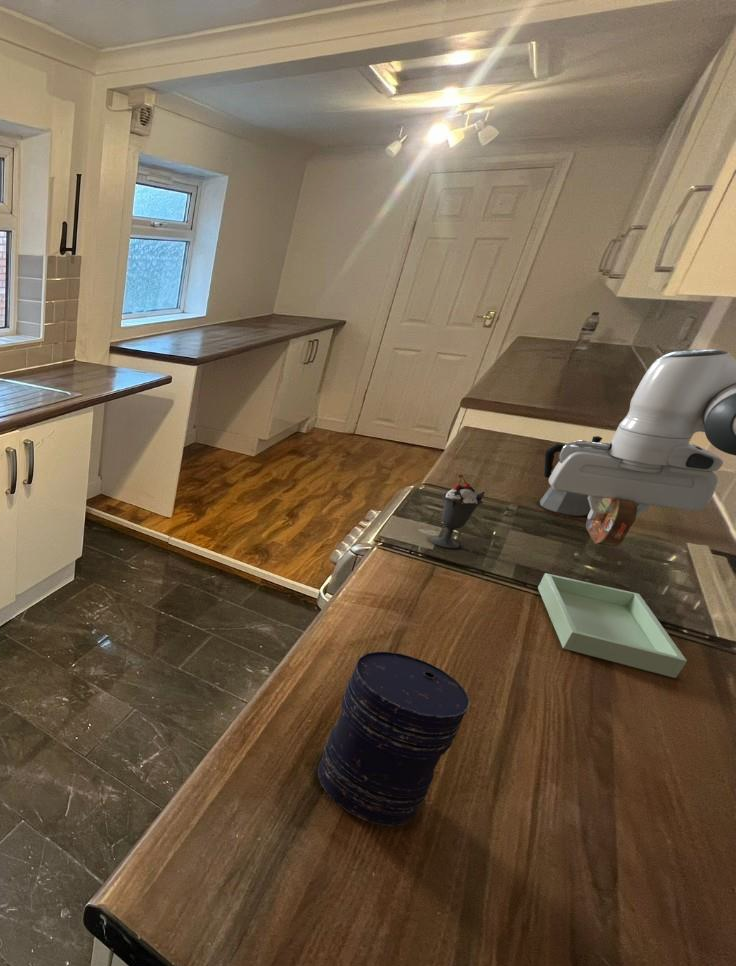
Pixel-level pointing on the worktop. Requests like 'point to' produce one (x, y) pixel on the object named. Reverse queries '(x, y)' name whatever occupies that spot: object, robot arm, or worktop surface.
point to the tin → (612, 521)
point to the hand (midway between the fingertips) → (607, 522)
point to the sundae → (457, 511)
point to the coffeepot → (561, 499)
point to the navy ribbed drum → (390, 736)
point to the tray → (609, 625)
